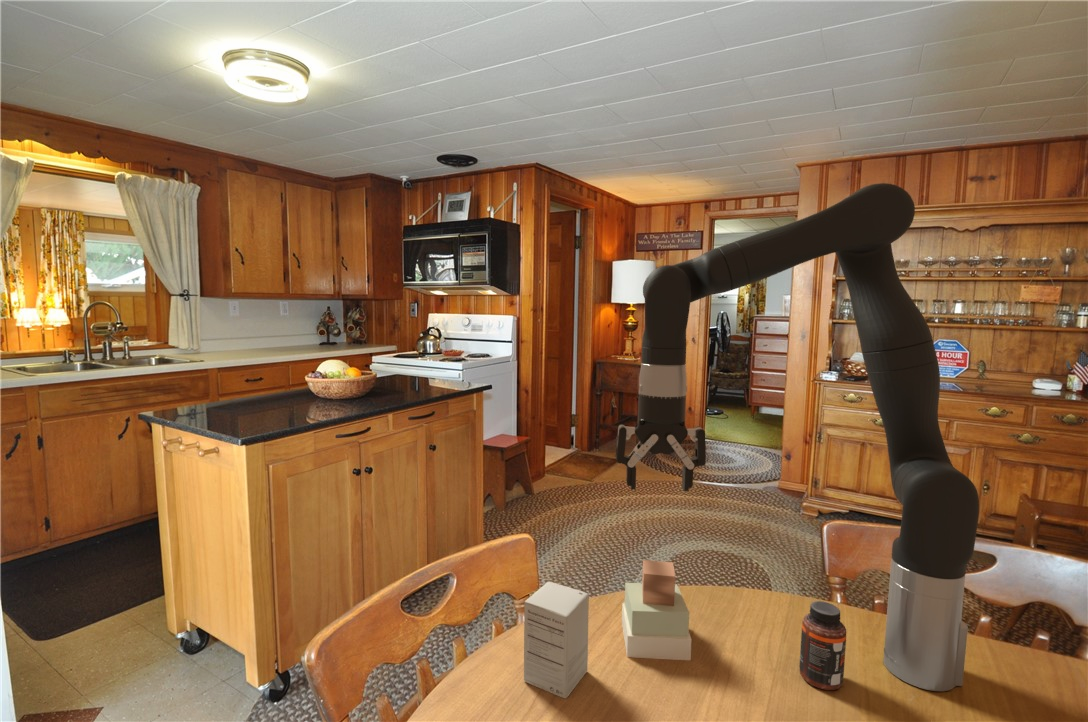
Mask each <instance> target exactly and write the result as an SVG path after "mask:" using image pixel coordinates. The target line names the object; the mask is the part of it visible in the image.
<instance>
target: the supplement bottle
mask: <svg viewBox="0 0 1088 722" xmlns="http://www.w3.org/2000/svg"><path fill="white" fill-rule="evenodd" d="M800 637H801V638H800V650H799V651H800V652H799V654H800V655H799V674H800V676H801V677H802V679H804V681H806V683H808V684H809V685H811V686H813V687H816V688H818V689H822V690H826V691H836V690H839V689H840V688H841V687H842V686H843V682H844V675H845V661H846V650H847V649H846V647H847V645H846V644H847V629H846V626H845V625H844V623H843V622H842V621H841V610H840V608H838V607H837V605H834V604H832V603H830V602H826V601H821V600H819V601H818V600H817V601H816V600H815V601H812V602H811V603H810V609H809V613H807V614H805V615H804V617H803V618H802V623H801V635H800Z"/></svg>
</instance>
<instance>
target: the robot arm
mask: <svg viewBox="0 0 1088 722" xmlns="http://www.w3.org/2000/svg"><path fill="white" fill-rule="evenodd" d="M915 213H916V206H915V202H914V200H913V198H912V196H911V194H909V192H908V191H907V190H905V189H904V188H902V187H900V186H899V185H896V184H893V183H884V182H882V183H881V182H880V183H873V184H869V185H866V186H863V187H862V188H860V189H857V190H856V191H854V192H853V193H851V194H850V195H849V196H847V197H845V198H843V199H842V200H841V201H839V202H837V203H835V204H833V205H831V206H829V207H826V208H824V209H822V210H821V211H818V212H816V213H814V214H812V215H808V216H806V217H804V218H801V219H798V220H797V221H792V222H790V223H788V224H785V225H782V226H779V227H776V228H773V229H769V230H766V231H764V232H760V233H757V234H754V235H750V236H748V237H745V238H742V239H739V240H735V241H732V242H729V243H727V244H725V245H721V246H718V247H715V248H713V249H711V250H708V251H706V252H704V253H702V254H701V255H699V256H696V257H695V258H691V259H687V260H685V261H682V262H679V263H675V264H672V265H670V264H668V265H661V266H659V267H657V268H655V269H654V270H652V271H651V272H650V273H649V275H648V276H647V277H646V279H645V281H644V283H643V286H642V295H643V297H644V330H643V334H642V340H641V354H640V355H641V356H640V357H641V359H640V362H641V363H640V371H639V375H638V377H639V378H638V402H637V404H638V406H637V422H636V425H635V426H625V425H624V424H619V425H618V427H617V436H616V446H615V458H616V462H617V463H618V464H622V465H624V466H626V476H625V481H626V484H627V486H628V487H629V488H630V490H636V489H637V488H636V486H637V485H636V483H637V482H636V481H637V465H636V464H637V463H638V462H639V461H640V460H641V459H642V458H643V457H645V456H646V454H647V452H648V453H649V454H651V455H658V454H664V455H669V456H670V455H671V454H673V453H676V454H677V456H678V457H679V458H680V460H681V461H682V462H683V464H684V465H682V472H681V473H682V475H681V489H682V491H683V492H689V490H690V489H692V487H693V485H694V470H695V468H697V467H704V466H705V465H706V462H707V458H706V451H707V450H706V431H705V430H704V428H702V427H701V426H695V427H693V428H687V427H686V408H687V407H686V405H687V392H688V386H687V385H688V384H687V383H688V382H687V381H688V380H687V379H688V378H687V377H688V376H687V365H686V364H687V361H686V360H687V328H688V321H689V315H690V306H691V303H693V302H696V301H699V300H700V299H704V298H706V297H709V296H713V295H719V294H723V293H726V292H727V293H728V292H730V291H734V290H736V289H739V288H741V287H742V288H743V287H745V286H748V285H751V284H754V283H756V282H760V281H762V280H764V279H768V278H770V277H772V276H774V275H777V274H779V273H782V272H784V271H787V270H789V269H791V268H793V267H796V266H799V265H801V264H804V263H806V262H809V261H812V260H815V259H818V258H821V257H824V256H827V255H831V254H834V253H835V255H836V257H837V260H838V263H839V266H840V269H841V271H842V273H843V277H844V279H845V280H844V281H845V282H846V286H847V290H848V293H849V298H850V303H851V307H852V313H853V317H854V322H855V326H856V330H857V334H858V338H859V343H860V349H861V354H862V358H863V362H864V363H863V364H864V367H865V370H866V375H867V378H868V381H869V385H870V388H871V391H872V394H873V398H874V401H875V404H876V408H877V410H878V413H879V416H880V419H881V422H882V425H883V428H884V432H885V438H886V444H887V445H886V446H887V453H888V460H889V461H888V462H889V469H890V480H891V486H892V491H893V493H894V496H895V498H897V501H898V502H899V503H900V504H901V505H902V510H901V511H902V512H901V522H900V530H899V531H900V532H899V535H898V536H897V537H896V538H895V539H894V540H893V541H892V546H891V557H890V559H891V561H890V569H889V570H890V571H889V585H888V586H889V587H888V594H887V595H888V597H887V598H888V599H887V607H886V608H887V611H886V621H885V623H886V624H885V634H884V647H883V664H884V666H885V667H886V669H887V670H888V671H889V672H890V673H891V674H892V675H893V676H895V677H896V678H898V679H900V680H901V681H903V682H905V683H907V684H909V685H911V686H914V687H917V688H920V689H923V690H927V691H933V692H946V691H951V690H953V689H954V688H955V687H963V684H964V673H965V664H966V663H965V662H966V653H967V641H968V632H969V631H968V630H969V627H968V625H967V623H966V622H964V621H963V620H962V616H963V605H964V603H963V602H964V596H965V595H964V593H965V592H964V591H965V583H966V582H965V581H966V573H967V565H968V564H969V563H970V561H971V560H972V557H973V554H974V552H975V551H974V550H975V543H976V538H977V530H978V523H979V517H980V515H979V514H980V497H979V493H978V489H977V487H976V486H975V484H974V482H973V481H972V480H971V479H970V478H969V477H968V476H967V475H966V474H964V473H963V472H961V471H960V470H958V468H955V467H954V465H953V463H952V461H951V459H950V457H949V454H948V452H947V448H946V445H945V443H944V442H945V441H944V439H943V436H942V435H943V434H942V432H941V428H940V423H939V402H940V390H941V373H940V367H939V360H938V356H937V351H936V347H935V344H934V340H933V335H932V331H931V329H930V327H929V324H928V322H927V320H926V318H925V317H924V315H923V313H922V312H921V311H920V309H919V307H918V306H917V304H916V303H915V302H914V300H913V299H912V297H911V296H910V295H909V293H908V292H907V289H906V288H905V286H904V285H903V283H902V282H901V280H900V277H899V274H898V272H897V271H898V270H897V267H896V263H895V259H894V254H893V249H892V243H894V242H896V241H897V240H898V239H900V238H901V237H902V236H904V234H905V233H906V232H907V231H908V230H909V229H910V227H911V226H912V223H913V221H914V218H915V215H916V214H915ZM634 434H635V437H636V438H637V439H638V441H639V442H638V443H637V444H636V445H635V446H634V448H633V449H632V451H631V452H630V454H629V455H626V454H625V453H626V443H627V441H629V440H630V439H631V438H632V435H634ZM688 436H689V437H690V440H691V441H692V442H693V443H694V457H689V456H688V454H687V453H686V451H685V450H684V449H683V447H682V446H681V445H682V443H683V442H684V441H685V440H686V438H687V437H688Z"/></svg>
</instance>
